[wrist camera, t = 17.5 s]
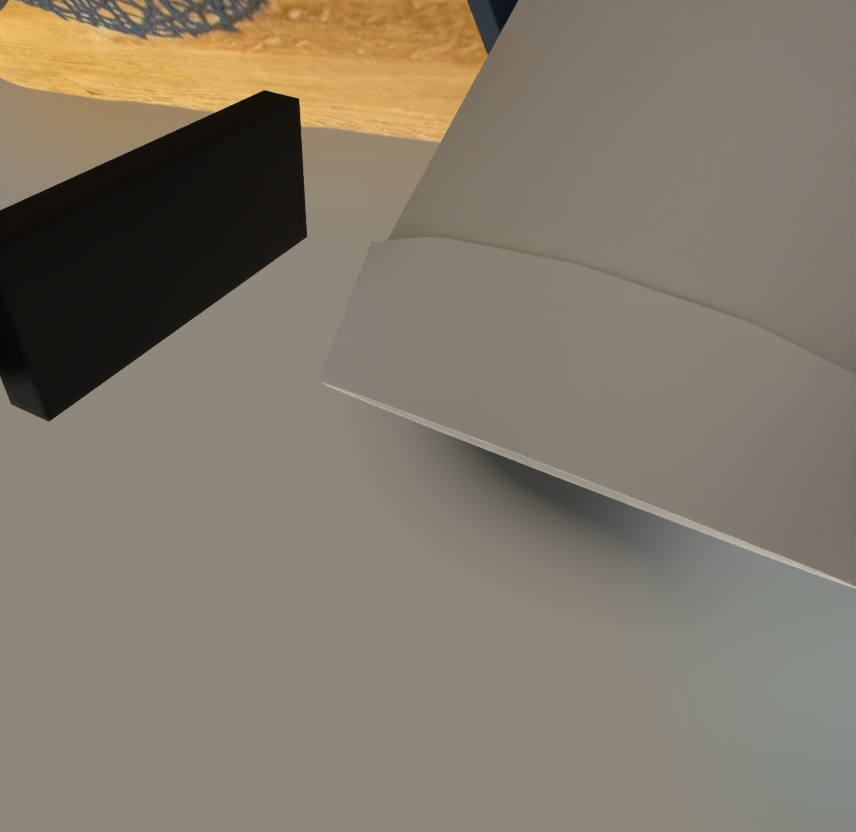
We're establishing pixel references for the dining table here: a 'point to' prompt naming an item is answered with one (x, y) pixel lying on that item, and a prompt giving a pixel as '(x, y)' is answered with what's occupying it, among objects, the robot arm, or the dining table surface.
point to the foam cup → (641, 267)
